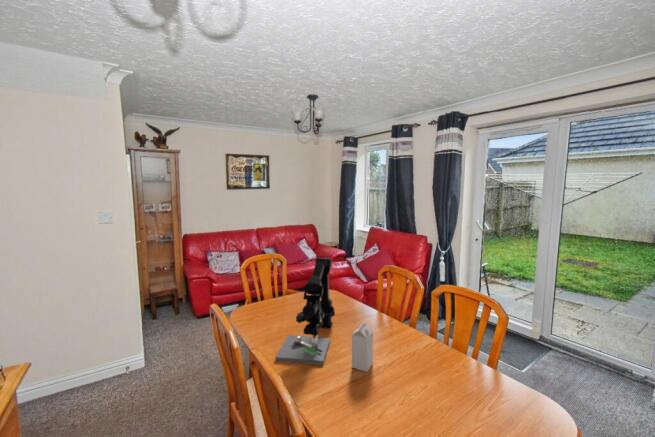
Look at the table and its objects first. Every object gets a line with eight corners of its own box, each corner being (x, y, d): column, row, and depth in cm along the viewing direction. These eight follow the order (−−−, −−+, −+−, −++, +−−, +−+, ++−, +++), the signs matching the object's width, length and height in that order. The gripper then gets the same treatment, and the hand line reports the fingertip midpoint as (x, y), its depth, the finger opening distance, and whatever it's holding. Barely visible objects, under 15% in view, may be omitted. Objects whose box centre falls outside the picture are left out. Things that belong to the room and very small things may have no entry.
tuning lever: (292, 342, 147) (291, 329, 146) (297, 339, 150) (297, 326, 149) (318, 354, 136) (318, 339, 135) (324, 350, 139) (324, 336, 139)
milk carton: (351, 368, 130) (351, 326, 128) (357, 359, 136) (357, 319, 134) (367, 372, 127) (367, 329, 124) (372, 363, 133) (372, 322, 131)
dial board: (288, 339, 155) (288, 335, 155) (330, 342, 152) (330, 337, 151) (275, 361, 136) (275, 356, 135) (323, 365, 132) (323, 360, 132)
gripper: (302, 298, 151) (303, 327, 154) (291, 315, 133) (292, 348, 135) (324, 299, 149) (324, 328, 152) (316, 317, 131) (317, 350, 134)
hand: (314, 338), depth 143 cm, fingers closed
